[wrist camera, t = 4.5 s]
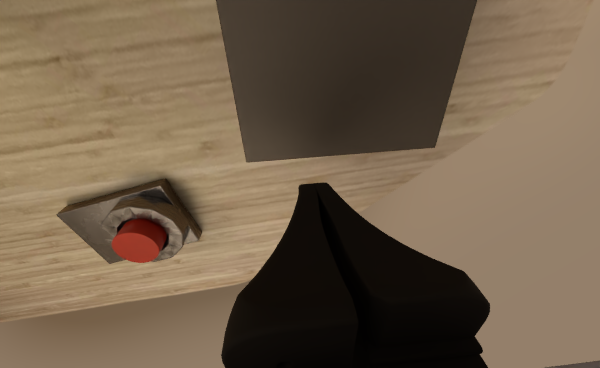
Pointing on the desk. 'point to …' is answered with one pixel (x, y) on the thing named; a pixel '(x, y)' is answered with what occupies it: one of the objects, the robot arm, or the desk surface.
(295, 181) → the desk surface
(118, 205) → the button block
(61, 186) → the desk surface
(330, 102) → the lid
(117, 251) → the button
